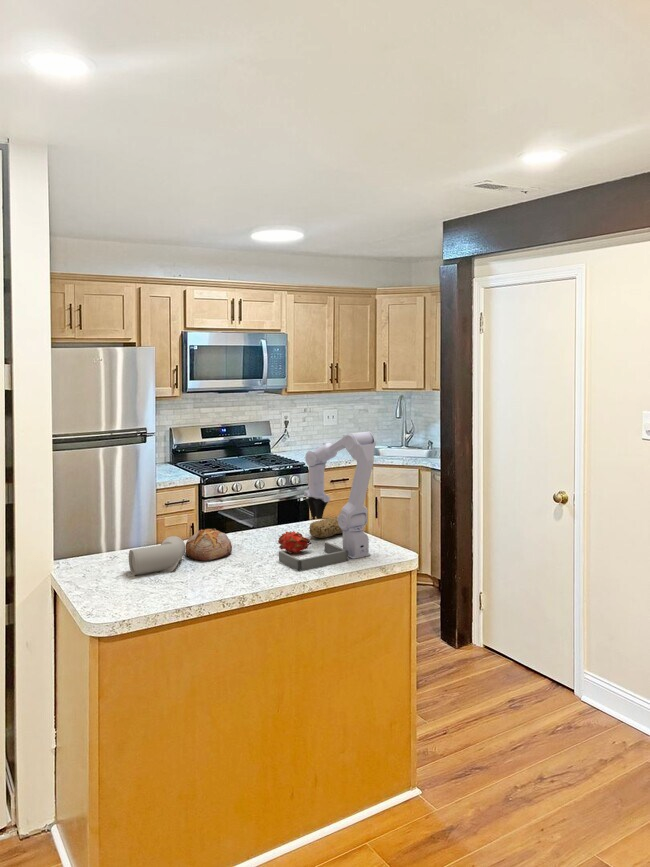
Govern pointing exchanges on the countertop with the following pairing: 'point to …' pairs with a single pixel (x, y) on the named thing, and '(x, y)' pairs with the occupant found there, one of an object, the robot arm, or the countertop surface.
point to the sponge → (325, 528)
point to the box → (315, 558)
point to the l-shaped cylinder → (157, 557)
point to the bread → (208, 545)
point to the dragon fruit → (293, 542)
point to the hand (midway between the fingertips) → (316, 517)
